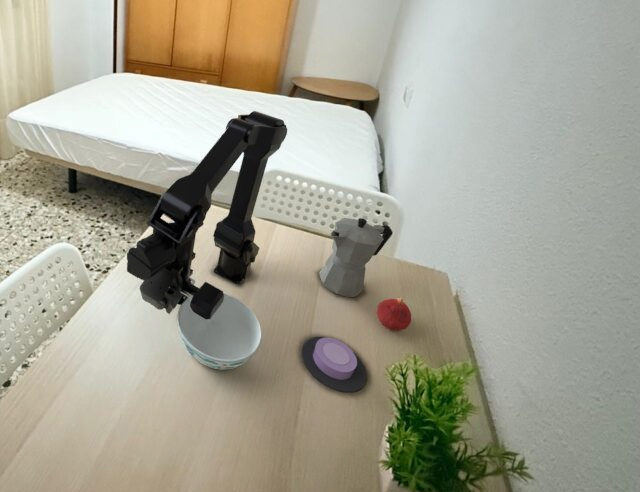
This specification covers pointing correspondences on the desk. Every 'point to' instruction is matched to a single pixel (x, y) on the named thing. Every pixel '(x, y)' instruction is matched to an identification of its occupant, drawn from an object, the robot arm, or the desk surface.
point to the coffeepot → (352, 254)
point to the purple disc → (334, 358)
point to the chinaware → (220, 334)
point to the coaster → (340, 385)
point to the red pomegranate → (394, 314)
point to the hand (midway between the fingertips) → (169, 312)
